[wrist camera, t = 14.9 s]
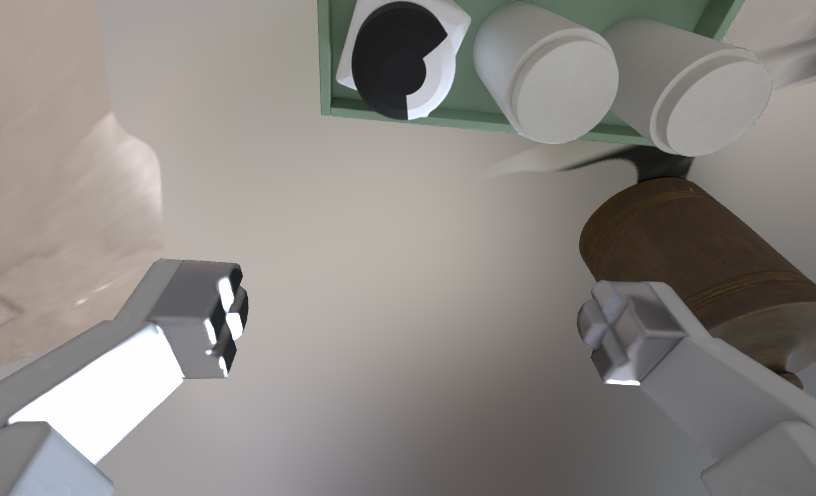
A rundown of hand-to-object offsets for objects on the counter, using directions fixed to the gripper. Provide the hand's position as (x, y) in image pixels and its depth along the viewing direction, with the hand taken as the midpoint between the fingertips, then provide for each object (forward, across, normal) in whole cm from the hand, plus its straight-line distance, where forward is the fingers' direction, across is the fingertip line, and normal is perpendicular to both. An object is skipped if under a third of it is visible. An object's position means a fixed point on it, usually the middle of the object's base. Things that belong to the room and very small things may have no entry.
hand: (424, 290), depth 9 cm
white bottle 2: (+28, -20, 0) cm, 35 cm away
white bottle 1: (+28, -10, 0) cm, 30 cm away
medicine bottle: (+29, 0, 0) cm, 29 cm away
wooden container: (+29, -32, +18) cm, 47 cm away
